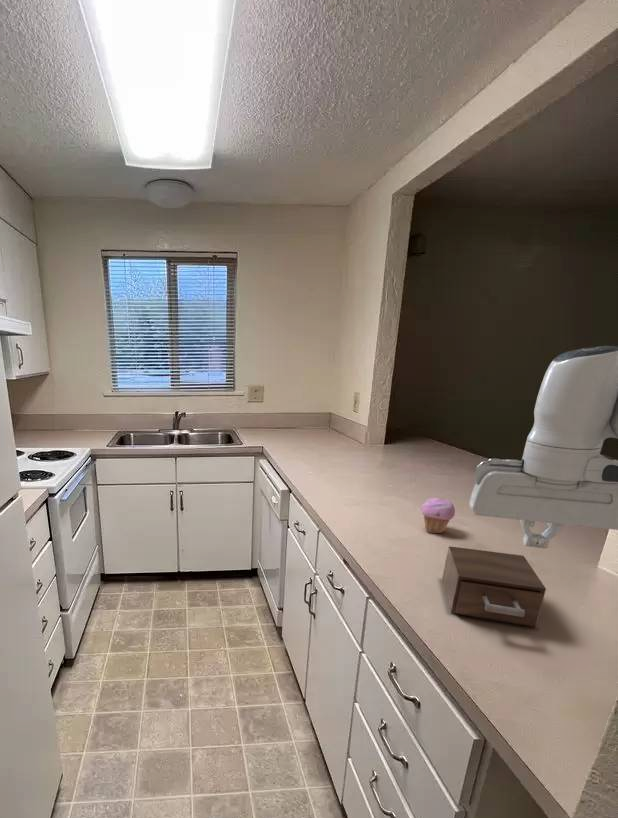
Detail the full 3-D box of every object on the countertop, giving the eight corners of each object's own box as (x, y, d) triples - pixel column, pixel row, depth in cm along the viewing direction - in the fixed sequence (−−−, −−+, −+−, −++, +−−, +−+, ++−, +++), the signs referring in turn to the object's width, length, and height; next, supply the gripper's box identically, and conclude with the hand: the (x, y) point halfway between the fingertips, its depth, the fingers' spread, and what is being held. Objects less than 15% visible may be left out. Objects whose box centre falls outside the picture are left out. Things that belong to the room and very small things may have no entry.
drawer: (542, 641, 79) (552, 609, 76) (459, 626, 83) (466, 595, 81) (515, 591, 95) (522, 563, 92) (446, 581, 99) (452, 554, 97)
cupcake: (416, 523, 133) (421, 492, 130) (447, 526, 131) (453, 495, 127) (420, 534, 125) (425, 502, 122) (453, 538, 123) (460, 505, 119)
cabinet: (534, 627, 84) (546, 588, 81) (450, 613, 89) (458, 576, 86) (514, 590, 97) (523, 555, 94) (442, 579, 101) (448, 546, 98)
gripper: (482, 461, 65) (464, 544, 70) (654, 473, 59) (621, 564, 64) (474, 452, 71) (458, 530, 76) (630, 462, 64) (602, 546, 69)
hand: (534, 545), depth 70 cm, fingers closed
